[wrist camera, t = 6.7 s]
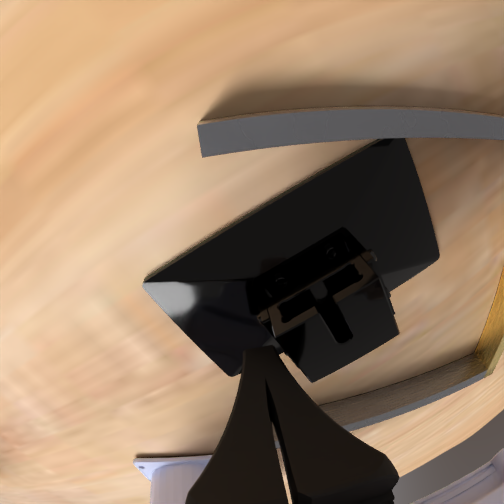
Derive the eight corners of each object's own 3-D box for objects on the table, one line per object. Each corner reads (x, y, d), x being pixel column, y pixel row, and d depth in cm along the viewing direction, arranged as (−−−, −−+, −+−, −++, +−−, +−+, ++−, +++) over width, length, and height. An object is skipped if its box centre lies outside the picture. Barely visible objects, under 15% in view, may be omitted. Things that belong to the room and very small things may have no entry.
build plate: (395, 127, 12) (472, 148, 7) (436, 257, 15) (491, 307, 11) (140, 280, 13) (119, 357, 9) (233, 376, 16) (242, 449, 12)
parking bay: (479, 357, 20) (491, 373, 18) (256, 426, 19) (260, 451, 17) (532, 120, 12) (557, 127, 10) (199, 121, 11) (196, 125, 9)
